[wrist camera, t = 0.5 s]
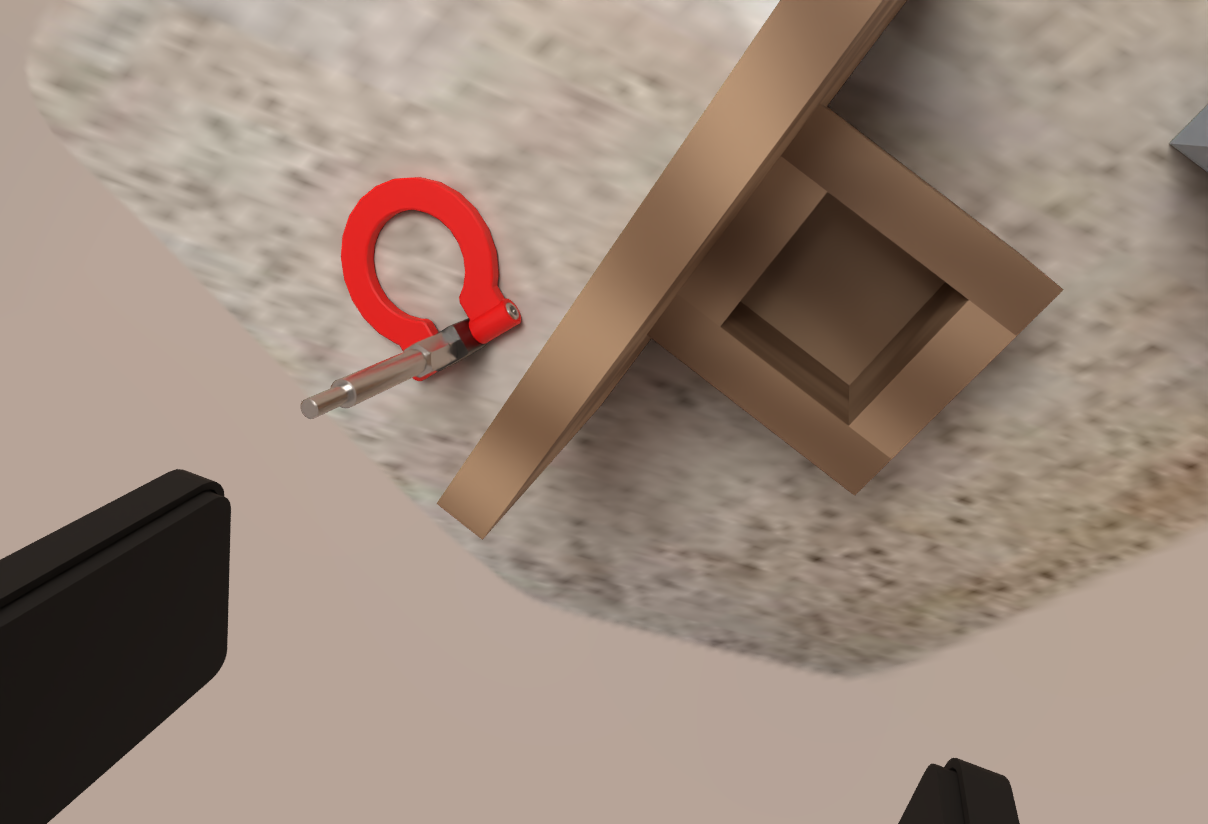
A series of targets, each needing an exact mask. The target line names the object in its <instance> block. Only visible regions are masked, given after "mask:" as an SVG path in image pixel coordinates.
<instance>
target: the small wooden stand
mask: <svg viewBox="0 0 1208 824" xmlns="http://www.w3.org/2000/svg"><path fill="white" fill-rule="evenodd" d="M906 1H907V0H780V2H779V3H778V4H777V6H776V7H775V9H774V10H773V12H772V13H771V15H770V16H769V18H768V19H767V21H766V22H765V23H764V25H763V26H762V28H761V29H760V31H759V32H758V34H757V35H756V37H755V38H754V40H753V41H752V43H751V44H750V45H749V47H748V48H747V50H746V51H745V53H744V54H743V56H742V57H741V59H740V60H739V62H738V63H737V64H736V66H735V67H734V69H733V70H732V72H731V73H730V75H729V76H728V78H727V79H726V81H725V82H724V84H723V85H722V86H721V88H720V89H719V91H718V92H717V94H716V95H715V97H714V98H713V100H712V101H711V103H710V104H709V105H708V107H707V108H706V110H705V111H704V113H703V114H702V116H701V117H700V119H699V120H698V122H697V123H696V125H695V126H694V127H693V129H692V130H691V132H690V133H689V135H688V136H687V138H686V139H685V141H684V142H683V144H682V145H681V146H680V148H679V149H678V151H677V152H676V154H675V155H674V157H673V158H672V160H671V161H670V163H669V164H668V166H667V167H666V168H665V170H664V171H663V173H662V174H661V176H660V177H659V179H658V180H657V182H656V183H655V185H654V186H653V187H652V189H651V190H650V192H649V193H648V195H647V196H646V198H645V199H644V201H643V202H642V204H641V205H640V207H639V208H638V209H637V211H636V212H635V214H634V215H633V217H632V218H631V220H630V221H629V223H628V224H627V226H626V227H625V228H624V230H623V231H622V233H621V234H620V236H619V237H618V239H617V240H616V242H615V243H614V245H613V246H612V248H611V249H610V250H609V252H608V253H607V255H606V256H605V258H604V259H603V261H602V262H601V264H600V265H599V267H598V268H597V269H596V271H595V272H594V274H593V275H592V277H591V278H590V280H589V281H588V283H587V284H586V286H585V287H584V289H583V290H582V291H581V293H580V294H579V296H578V297H577V299H576V300H575V302H574V303H573V305H572V306H571V308H570V309H569V310H568V312H567V313H566V315H565V316H564V318H563V319H562V321H561V322H560V324H559V325H558V327H557V328H556V330H555V331H554V332H553V334H552V335H551V337H550V338H549V340H548V341H547V343H546V344H545V346H544V347H543V349H542V350H541V351H540V353H539V354H538V356H537V357H536V359H535V360H534V362H533V363H532V365H531V366H530V368H529V369H528V371H527V372H526V373H525V375H524V376H523V378H522V379H521V381H520V382H519V384H518V385H517V387H516V388H515V390H514V391H513V393H512V394H511V395H510V397H509V398H508V400H507V401H506V403H505V404H504V406H503V407H502V409H501V410H500V412H499V413H498V414H497V416H496V417H495V419H494V420H493V422H492V423H491V425H490V426H489V428H488V429H487V431H486V432H485V434H484V435H483V436H482V438H481V439H480V441H479V442H478V444H477V445H476V447H475V448H474V450H473V451H472V453H471V454H470V455H469V457H468V458H467V460H466V461H465V463H464V464H463V466H462V467H461V469H460V470H459V472H458V473H457V475H456V476H455V477H454V479H453V480H452V482H451V483H450V485H449V486H448V488H447V489H446V491H445V492H444V494H443V495H442V496H441V498H440V499H439V501H438V502H437V504H438V505H439V506H440V507H442V508H443V509H444V510H445V511H447V512H448V513H449V514H450V515H452V516H453V517H454V518H455V519H457V520H458V521H459V522H461V523H462V524H463V525H464V526H466V527H467V528H468V529H469V530H471V531H472V532H473V533H475V534H476V535H477V536H478V537H480V538H481V539H482V540H483V539H484V537H485V536H486V535H487V534H488V533H489V532H490V531H491V529H492V528H493V527H494V526H495V525H496V524H497V523H498V522H499V520H500V519H501V518H502V517H503V516H504V515H505V514H506V512H507V511H508V510H509V509H510V508H511V507H512V506H513V505H514V503H515V502H516V501H517V500H518V499H519V498H520V497H521V495H522V494H523V493H524V492H525V491H526V490H527V489H528V488H529V486H530V485H531V484H532V483H533V482H534V481H535V480H536V478H537V477H538V476H539V475H540V474H541V473H542V472H543V471H544V469H545V468H546V467H547V466H548V465H549V464H550V463H551V462H552V460H553V459H554V458H555V457H556V456H557V455H558V454H559V452H560V451H561V450H562V449H563V448H564V447H565V446H566V445H567V443H568V442H569V441H570V440H571V439H572V438H573V437H574V435H575V434H576V433H577V432H578V431H579V430H580V429H581V428H582V426H583V425H584V424H585V423H586V422H587V421H588V420H589V418H590V417H591V416H592V415H593V414H594V413H595V412H596V411H597V409H598V408H599V407H600V406H601V405H602V403H603V402H604V401H605V399H606V398H607V397H608V395H609V394H610V393H611V391H612V390H613V389H614V387H615V386H616V385H617V383H618V382H619V381H620V379H621V378H622V377H623V375H624V374H625V373H626V371H627V370H628V369H629V367H630V366H631V365H632V364H633V362H634V361H635V360H636V358H637V357H638V356H639V354H640V353H641V352H642V350H643V349H644V348H645V346H646V345H647V344H648V342H649V341H650V340H651V338H652V339H653V340H654V341H656V342H657V343H658V344H660V345H661V346H662V347H663V348H665V349H666V350H667V351H669V352H670V353H671V354H672V355H674V356H675V357H676V358H678V359H679V360H680V361H681V362H683V363H684V364H685V365H687V366H688V367H689V368H691V369H692V370H693V371H694V372H696V373H697V374H698V375H700V376H701V377H702V378H703V379H705V380H706V381H707V382H709V383H710V384H711V385H712V386H714V387H715V388H716V389H718V390H719V391H720V392H722V393H723V394H724V395H725V396H727V397H728V398H729V399H731V400H732V401H733V402H734V403H736V404H737V405H738V406H740V407H741V408H742V409H743V410H745V411H746V412H747V413H749V414H750V415H751V416H752V417H754V418H755V419H756V420H758V421H759V422H760V423H762V424H763V425H764V426H765V427H767V428H768V429H769V430H771V431H772V432H773V433H774V434H776V435H777V436H778V437H780V438H781V439H782V440H783V441H785V442H786V443H787V444H789V445H790V446H791V447H793V448H794V449H795V450H796V451H798V452H799V453H800V454H802V455H803V456H804V457H805V458H807V459H808V460H809V461H811V462H812V463H813V464H814V465H816V466H817V467H818V468H820V469H821V470H822V471H823V472H825V473H826V474H827V475H829V476H830V477H831V478H833V479H834V480H835V481H836V482H838V483H839V484H840V485H842V486H843V487H844V488H845V489H847V490H848V491H849V492H851V493H852V494H853V495H854V496H855V495H856V494H857V493H858V492H859V491H860V490H861V489H862V488H863V487H864V486H865V485H866V484H867V483H868V482H869V481H870V480H871V479H872V478H873V477H874V476H875V475H876V474H877V473H878V472H879V471H880V470H881V469H882V468H883V467H884V466H885V465H886V464H887V463H888V462H889V461H890V460H891V459H892V458H893V457H894V456H895V455H896V454H897V453H898V452H899V451H900V450H901V449H902V448H904V447H905V446H906V445H907V444H908V443H909V442H910V441H911V440H912V439H913V438H914V437H915V436H916V435H917V434H918V433H919V432H920V431H921V430H922V429H923V428H924V427H925V426H926V425H927V424H928V423H929V422H930V421H931V420H932V419H933V418H934V417H935V416H936V415H937V414H938V413H939V412H940V411H941V410H942V409H943V408H944V407H945V406H946V405H947V404H948V403H949V402H950V401H951V400H952V399H953V398H954V397H955V396H956V395H957V394H958V393H959V392H960V391H961V390H962V389H963V388H964V387H965V386H966V385H967V384H968V383H969V382H970V381H971V380H972V379H973V378H975V377H976V376H977V375H978V374H979V373H980V372H981V371H982V370H983V369H984V368H985V367H986V366H987V365H988V364H989V363H990V362H991V361H992V360H993V359H994V358H995V357H996V356H997V355H998V354H999V353H1000V352H1001V351H1002V350H1003V349H1004V348H1005V347H1006V346H1007V345H1008V344H1009V343H1010V342H1011V341H1012V340H1013V339H1014V338H1015V337H1016V336H1017V335H1018V334H1019V333H1020V332H1021V331H1022V330H1023V329H1024V328H1025V327H1026V326H1027V325H1028V324H1029V323H1030V322H1031V321H1032V320H1033V319H1034V318H1035V317H1036V316H1037V315H1038V314H1039V313H1040V312H1041V311H1042V310H1043V309H1044V308H1046V307H1047V306H1048V305H1049V304H1050V303H1051V302H1052V301H1053V300H1054V299H1055V298H1056V297H1057V296H1058V295H1059V294H1060V293H1061V292H1062V291H1063V289H1062V288H1061V287H1060V286H1059V285H1057V284H1056V283H1055V282H1054V281H1052V280H1051V279H1050V278H1049V277H1048V276H1046V275H1045V274H1044V273H1043V272H1042V271H1040V270H1039V269H1038V268H1037V267H1036V266H1034V265H1033V264H1032V263H1031V262H1030V261H1028V260H1027V259H1026V258H1025V257H1024V256H1022V255H1021V254H1020V253H1018V252H1017V251H1016V250H1014V249H1013V248H1012V247H1010V246H1009V245H1008V244H1007V243H1005V242H1004V241H1003V240H1001V239H1000V238H999V237H997V236H996V235H995V234H993V233H992V232H991V231H989V230H988V229H987V228H986V227H984V226H983V225H982V224H980V223H979V222H978V221H976V220H975V219H974V218H972V217H971V216H970V215H968V214H967V213H966V212H965V211H963V210H962V209H961V208H959V207H958V206H957V205H955V204H954V203H953V202H951V201H950V200H949V199H947V198H946V197H945V196H944V195H942V194H941V193H940V192H938V191H937V190H936V189H934V188H933V187H932V186H930V185H929V184H928V183H927V182H925V181H924V180H923V179H921V178H920V177H919V176H917V175H916V174H915V173H913V172H912V171H911V170H909V169H908V168H907V167H906V166H904V165H903V164H902V163H900V162H899V161H898V160H896V159H895V158H894V157H892V156H891V155H890V154H888V153H887V152H886V151H885V150H883V149H882V148H881V147H879V146H878V145H877V144H875V143H874V142H873V141H871V140H870V139H869V138H867V137H866V136H865V135H864V134H862V133H861V132H860V131H858V130H857V129H856V128H854V127H853V126H852V125H850V124H849V123H848V122H846V121H845V120H844V119H843V118H841V117H840V116H839V115H837V114H836V113H835V112H833V111H832V110H831V109H829V108H828V107H827V105H828V104H829V103H830V101H831V100H832V99H833V98H834V96H835V95H836V94H837V92H838V91H839V90H840V88H841V87H842V86H843V84H844V83H845V82H846V80H847V79H848V78H849V76H850V75H851V74H852V72H853V71H854V70H855V68H856V67H857V66H858V64H859V63H860V62H861V60H862V59H863V58H864V56H865V55H866V54H867V53H868V51H869V50H870V49H871V47H872V46H873V45H874V43H875V42H876V41H877V39H878V38H879V37H880V35H881V34H882V33H883V31H884V30H885V29H886V27H887V26H888V25H889V23H890V22H891V21H892V19H893V18H894V17H895V15H896V14H897V13H898V12H899V10H900V9H901V8H902V6H903V5H904V4H905V2H906Z"/></svg>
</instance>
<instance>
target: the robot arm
mask: <svg viewBox="0 0 1208 824" xmlns="http://www.w3.org/2000/svg"><path fill="white" fill-rule="evenodd" d="M230 517H231V506H230V502H229V500H228V499H227V498H225V497H224V490H223V488H222V486H221V485H220V484H218V483H217V482H215V481H212V480H209V479H207V478H204V477H201V476H199V475H196V474H193V473H191V472H188V471H185V470H178V469H176V470H173V471H170V472H168V473H166V474H164V475H162V476H160V477H158V478H156V479H154V480H152V481H151V482H149V483H147V484H145V485H143V486H141V487H139V488H137V489H135V490H133V491H131V492H129V493H128V494H126V495H124V496H122V497H120V498H118V499H116V500H115V501H112V502H111V503H108V504H106V505H105V506H103V507H101V508H99V509H97V510H95V511H93V512H91V513H89V514H87V515H85V516H83V517H82V518H80V519H78V520H76V521H74V522H72V523H70V524H68V525H66V526H64V527H62V528H60V529H59V530H57V531H55V532H53V533H51V534H49V535H47V536H45V537H43V538H41V539H39V540H37V541H35V542H34V543H32V544H30V545H28V546H26V547H24V548H22V549H20V550H18V551H16V552H14V553H12V554H11V555H9V556H7V557H5V558H3V559H1V560H0V824H47V823H48V822H49V821H50V820H51V819H52V818H54V817H55V816H56V815H57V814H58V813H59V812H60V811H62V809H64V808H65V807H66V806H67V805H69V804H70V803H71V802H72V801H73V800H74V799H75V798H76V797H78V796H79V795H80V794H81V793H82V792H83V791H84V790H86V789H87V788H88V787H89V786H90V785H91V784H92V783H94V782H95V781H96V780H97V779H98V778H99V777H100V776H102V775H103V774H104V773H105V772H106V771H107V770H108V769H109V768H111V767H112V766H113V765H114V764H115V763H116V762H118V761H119V760H120V759H121V758H122V757H123V756H124V755H125V754H127V753H128V752H129V751H130V750H131V749H132V748H134V747H135V746H136V745H137V744H138V743H139V742H140V741H142V740H143V739H144V738H145V737H146V736H147V735H148V734H150V733H151V732H152V731H153V730H154V729H155V728H156V727H157V726H159V725H160V724H161V723H162V722H163V721H164V720H166V719H167V718H168V717H169V716H170V715H171V714H172V713H174V712H175V711H176V710H177V709H178V708H179V707H180V706H181V705H183V704H184V703H185V702H186V701H187V700H188V699H189V698H191V697H192V696H193V695H194V694H195V693H196V692H198V690H200V689H201V688H202V687H203V686H204V685H205V684H207V683H208V682H209V681H210V680H211V679H212V678H213V677H214V676H215V675H216V674H217V673H218V671H219V670H220V668H221V667H222V665H223V663H224V660H225V657H226V654H227V636H228V635H227V634H228V598H229V597H228V596H229V560H230V559H229V558H230V522H231V518H230ZM898 824H1020V823H1019V820H1018V815H1017V810H1016V806H1015V801H1014V797H1013V792H1012V788H1011V785H1010V782H1009V780H1008V779H1007V778H1006V777H1005V776H1003V775H1000V774H998V773H995V772H992V771H990V770H987V769H984V768H981V767H979V766H976V765H973V764H971V763H968V762H965V761H963V760H960V759H958V758H952V759H950V760H949V761H948V762H947V764H946V765H945V767H941V766H939V765H936V764H930V765H929V766H928V768H927V769H926V771H925V772H924V775H923V776H922V778H921V780H920V782H919V784H918V786H917V788H916V790H915V792H914V794H913V796H912V798H911V800H910V802H909V804H908V806H907V808H906V810H905V812H904V813H903V816H902V817H901V820H900V821H899V823H898Z"/></svg>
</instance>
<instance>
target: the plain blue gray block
mask: <svg viewBox="0 0 1208 824" xmlns="http://www.w3.org/2000/svg"><path fill="white" fill-rule="evenodd" d="M1169 144H1171V145H1172V146H1173V147H1175V148H1176V149H1177V150H1178V151H1180V152H1181V153H1182V154H1184V155H1185V156H1186V157H1188V158H1189V159H1190V160H1192V161H1193V162H1194V163H1196V164H1197V165H1198V166H1200V167H1201V168H1202V169H1204V170H1205V171H1206V172H1208V105H1207V106H1206V107H1205V108H1204V109H1203V110H1202V111H1201V112H1200V113H1199V114H1198V115H1197V116H1196V117H1195V118H1194V119H1193V120H1192V121H1191V122H1190V123H1189V124H1188V125H1187V126H1186V127H1185V128H1184V129H1183V130H1182V131H1181V132H1180V133H1179V134H1178V135H1177V136H1176V137H1175V138H1174V139H1173V140H1172V141H1171V142H1170V143H1169Z"/></svg>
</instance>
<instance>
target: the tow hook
mask: <svg viewBox="0 0 1208 824" xmlns="http://www.w3.org/2000/svg"><path fill="white" fill-rule="evenodd" d="M406 210H418V211H422V212H426V213H429V214H430V215H432V216H434V217H435V218H437V219H439V220H440V221H441V222H442V223H443V224H444V225H445V226H447V227H448V228H449V229H450V230H451V232H452V234H453V235H454V237H455V238H456V240H457V242H458V243H459V246H460V249H461V252H462V254H463V257H464V266H465V278H464V286H463V289H462V291H461V294H460V296H459V299H460V304H461V305H462V307H463V309H464V311H465V312H466V314H467V316H468V317H469V318H468V319H465V320H463V321H460V322H458V323H455V324H453V325H450V326H449V327H447V328H445V329H444V330H442V331H441V332H439V333H438V331H437V329H436V327H435V326H434V324H433V322H432V321H430V320H428V319H421V318H417V317H414V316H410V315H408V314H406V313H405V312H403V311H401V310H400V309H398V308H397V307H396V306H395V305H394V304H393V303H392V302H391V301H390V300H389V299H388V298H387V296H386V295H385V293H384V292H383V290H382V289H381V287H380V285H379V282H378V279H377V276H376V274H375V267H374V260H373V258H374V247H375V243H376V240H377V237H378V234H379V232H380V231H381V229H382V228H383V226H384V225H385V223H386V222H387V221H388V220H390V219H391V218H392V217H393V216H395V215H396V214H398V213H401V212H403V211H406ZM341 261H342V268H343V275H344V280H345V283H346V285H347V288H348V291H349V293H350V296H351V299H352V301H353V302H354V304H355V305H356V307H357V308H358V310H359V312H360V313H361V315H362V316H363V318H364V319H365V320H366V321H367V322H368V323H369V324H370V325H371V326H372V327H373V328H374V329H375V330H376V331H377V332H378V333H379V334H381V335H383V336H384V337H386V338H388V339H389V340H391V341H393V342H394V343H396V344H398V345H400V347H401V348H402V350H403V353H401V354H398V355H396V356H393V357H391V358H389V359H386V360H384V361H381V362H379V363H376V364H374V365H372V366H369V367H367V368H364V369H362V370H360V371H357V372H355V373H352V374H350V375H348V376H345V377H343V378H340V379H338V380H336V381H334V382H333V383H332V385H331V388H330V389H328V390H326V391H323V392H321V393H319V394H316V395H314V396H312V397H309V398H307V399H305V400H303V401H302V403H301V411H302V413H303V415H304V416H305V417H307V418H309V419H314V418H316V417H318V416H320V415H322V414H325V413H327V412H329V411H331V410H333V409H335V408H337V407H339V406H340V407H342V408H350V407H352V406H354V405H356V404H358V403H360V402H362V401H365V400H367V399H369V398H371V397H373V396H375V395H377V394H379V393H381V392H383V391H385V390H388V389H390V388H392V387H394V386H396V385H398V384H400V383H402V382H404V381H406V380H408V379H411V378H413V379H415V380H417V381H423V380H424V379H426V378H428V377H429V376H431V375H433V374H434V373H436V372H438V371H441V370H443V369H445V368H447V367H449V366H451V365H453V364H455V363H457V362H459V361H460V360H462V359H464V358H465V357H467V356H469V355H470V354H472V353H474V352H476V351H477V350H479V349H481V348H482V347H484V346H485V345H486V344H487V342H489V341H491V340H492V339H494V338H496V337H497V336H499V335H501V334H502V333H504V332H506V331H508V330H509V329H511V328H513V327H514V326H516V325H518V324H519V323H521V315H520V312H519V310H518V308H517V307H516V305H515V304H514V303H513V302H512V301H511V300H509V299H505V298H504V297H503V295H502V293H501V291H500V290H499V288H498V286H497V283H498V276H499V272H498V262H497V251H496V248H495V245H494V242H493V239H492V237H491V234H490V231H489V228H488V227H487V225H486V223H485V222H484V220H483V219H482V217H481V215H480V214H479V212H478V211H477V209H476V208H475V207H474V206H473V205H472V204H471V203H470V202H469V201H468V200H467V199H466V198H465V197H464V196H463V195H462V194H461V193H459V192H457V191H456V190H454V189H452V188H450V187H449V186H447V185H445V184H443V183H442V182H438V181H434V180H430V179H426V178H422V177H415V178H400V179H392V180H390V181H387V182H385V183H382V184H380V185H377V186H375V187H374V188H373V189H372V190H371V191H369V192H368V193H367V194H366V195H365V196H363V197H362V198H361V199H360V200H359V202H358V203H357V205H356V206H355V208H354V209H353V211H352V212H351V214H350V215H349V218H348V221H347V224H346V227H345V230H344V233H343V237H342V250H341Z"/></svg>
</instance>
